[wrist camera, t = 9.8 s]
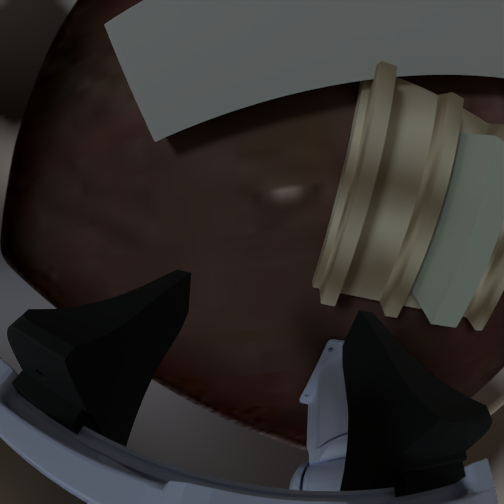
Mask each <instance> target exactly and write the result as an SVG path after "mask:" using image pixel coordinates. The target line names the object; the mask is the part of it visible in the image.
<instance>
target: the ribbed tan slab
mask: <svg viewBox="0 0 504 504" xmlns="http://www.w3.org/2000/svg"><path fill="white" fill-rule="evenodd" d="M396 72H397V66H394V65H392V64H389V63H386V62H384V61H381V62H380V63H378V64H377V65H376V70H375V75H374V79H371V80H363V81H360V86H359V92H358V98H357V104H356V109H355V114H354V120H353V125H352V130H351V134H350V139H349V144H348V149H347V153H346V158H345V162H344V166H343V171H342V175H341V179H340V183H339V187H338V191H337V195H336V199H335V203H334V207H333V211H332V215H331V218H330V222H329V226H328V229H327V233H326V236H325V240H324V243H323V247H322V250H321V254H320V257H319V260H318V264H317V267H316V270H315V274H314V277H313V280H312V283H313V287H314V288H319V290H320V298H321V304H326V305H331V306H335V305H336V302H337V300H338V297H339V294H340V293H343V294H348V295H352V296H357V297H362V298H367V299H372V300H377V301H380V304H381V306H382V309H383V311H384V313H385V316H389V317H395V318H397V317H398V315H399V313H400V311H401V309H402V307H403V306H408V307H413V308H419V309H422V308H421V306H420V304H419V303H418V301H417V299H416V298H415V296H414V295H413V293H412V291H411V287H412V285H413V283H414V281H415V278H416V276H417V274H418V271H419V269H420V267H421V264H422V262H423V259H424V257H425V254H426V251H427V249H428V246H429V244H430V241H431V238H432V235H433V232H434V229H435V227H436V224H437V221H438V217H439V214H440V211H441V208H442V205H443V201H444V198H445V194H446V191H447V187H448V183H449V179H450V175H451V171H452V167H453V162H454V158H455V153H456V148H457V143H458V137H459V133H468V134H482V135H492V136H497V137H498V138H500V139H501V140H502V141H504V124H488V123H486V122H485V121H483V120H482V119H480V118H478V117H477V116H475V115H473V114H472V113H470V112H468V111H467V110H465V109H463V101H464V98H462V97H460V96H458V95H456V94H455V93H453V92H450V93H446V94H441V95H437V94H435V93H433V92H431V91H428V90H426V89H424V88H422V87H420V86H417V85H415V84H413V83H410V82H408V81H406V80H403V79H401V78H398V77H396ZM503 290H504V221H503V224H502V227H501V230H500V233H499V236H498V239H497V242H496V244H495V247H494V250H493V252H492V255H491V257H490V260H489V262H488V265H487V267H486V269H485V272H484V274H483V276H482V278H481V281H480V283H479V285H478V287H477V289H476V291H475V293H474V295H473V297H472V299H471V301H470V303H469V305H468V307H467V309H466V311H465V313H464V314H463V317H466V318H467V319H468V320H469V322H470V323H471V325H472V326H473V327H474V329H475V330H480V331H482V329H483V328H484V326H485V324H486V322H487V321H488V319H489V317H490V315H491V314H492V312H493V310H494V308H495V306H496V304H497V302H498V300H499V298H500V296H501V294H502V292H503Z"/></svg>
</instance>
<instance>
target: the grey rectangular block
mask: <svg viewBox="0 0 504 504" xmlns="http://www.w3.org/2000/svg"><path fill="white" fill-rule="evenodd" d="M104 25H105V28H106V30H107V33H108V35H109V38H110V40H111V43H112V45H113V48H114V50H115V53H116V55H117V57H118V60H119V62H120V65H121V67H122V69H123V72H124V74H125V77H126V79H127V81H128V84H129V86H130V88H131V90H132V93H133V95H134V97H135V100H136V102H137V104H138V106H139V108H140V111H141V113H142V115H143V117H144V120H145V122H146V124H147V126H148V128H149V131H150V133H151V135H152V137H153V139H154V141H155V142H156V141H158V140H160V139H163V138H165V137H167V136H169V135H172V134H174V133H176V132H179V131H181V130H184V129H186V128H189V127H191V126H194V125H196V124H199V123H201V122H204V121H207V120H209V119H212V118H215V117H218V116H220V115H223V114H226V113H229V112H232V111H235V110H238V109H241V108H244V107H248V106H251V105H254V104H257V103H261V102H264V101H268V100H271V99H275V98H279V97H283V96H287V95H291V94H295V93H299V92H303V91H308V90H312V89H317V88H322V87H327V86H332V85H338V84H343V83H350V82H356V81H363V80H371V79H374V75H375V70H376V65H377V64H378V63H380V62H381V61H384V62H386V63H389V64H392V65H394V66H397V72H396V77H400V76H415V75H474V76H488V77H498V78H504V0H143V1H141V2H140V3H138V4H136V5H134V6H133V7H131V8H129V9H128V10H126V11H124V12H123V13H121V14H120V15H118V16H116V17H115V18H113V19H112V20H110V21H109V22H107V23H106V24H104Z"/></svg>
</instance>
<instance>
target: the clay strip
mask: <svg viewBox="0 0 504 504" xmlns="http://www.w3.org/2000/svg"><path fill="white" fill-rule="evenodd" d="M503 221H504V141H502V140H501V139H500V138H498V137H497V136H492V135H482V134H468V133H459V137H458V143H457V148H456V153H455V158H454V162H453V167H452V171H451V175H450V179H449V183H448V187H447V191H446V194H445V198H444V201H443V205H442V208H441V211H440V214H439V217H438V221H437V224H436V227H435V229H434V232H433V235H432V238H431V241H430V244H429V246H428V249H427V251H426V254H425V257H424V259H423V262H422V264H421V267H420V269H419V271H418V274H417V276H416V278H415V281H414V283H413V285H412V287H411V291H412V293H413V295H414V296H415V298H416V299H417V301H418V303H419V304H420V306H421V308H422V309H423V311H424V313H425V315H426V316H427V318H428V320H429V321H430V323H431V324H435V325H442V326H449V327H457V325H458V323H459V322H460V320H461V318H462V316H463V314H464V313H465V311H466V309H467V307H468V305H469V303H470V301H471V299H472V297H473V295H474V293H475V291H476V289H477V287H478V285H479V283H480V281H481V278H482V276H483V274H484V272H485V269H486V267H487V265H488V262H489V260H490V257H491V255H492V252H493V250H494V247H495V244H496V242H497V239H498V236H499V233H500V230H501V227H502V224H503Z"/></svg>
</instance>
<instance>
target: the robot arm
mask: <svg viewBox="0 0 504 504" xmlns="http://www.w3.org/2000/svg"><path fill="white" fill-rule="evenodd" d="M190 280H191V273H189V272H185V271H181V270H176V271H173V272H171V273H169V274H167V275H165V276H163V277H161V278H159V279H157V280H154V281H152V282H150V283H148V284H146V285H144V286H142V287H139V288H137V289H134V290H132V291H130V292H127V293H125V294H122V295H119V296H117V297H114V298H110V299H107V300H104V301H100V302H96V303H91V304H86V305H82V306H76V307H69V308H60V309H29V310H27V311H26V312H25V313H24V314H23V315H22V316H21V317H20V318H18V319H17V320H16V321H15V322H14V323H13V324H12V325H11V326H9V327H8V331H7V336H8V341H9V343H10V346H11V348H12V350H13V352H14V354H15V356H16V358H17V360H18V362H19V364H20V366H21V368H22V370H23V371H22V372H21V373H20V374H19V375H18V374H17V373H16V372H15V370H14V369H13V368H12V367H10V366H9V365H8V364H7V363H6V362H5V361H3V360H2V359H1V358H0V437H1V438H2V439H3V440H4V441H5V442H6V443H7V444H8V445H9V446H10V447H11V448H12V449H14V450H15V451H16V452H17V453H18V454H19V455H20V456H22V457H23V458H24V459H25V460H26V461H28V462H29V463H30V464H31V465H32V466H34V467H35V468H36V469H38V470H39V471H40V472H41V473H43V474H44V475H46V476H47V477H48V478H49V479H51V480H52V481H54V482H55V483H57V484H58V485H60V486H61V487H63V488H64V489H66V490H67V491H69V492H70V493H72V494H74V495H75V496H77V497H78V498H80V499H82V500H83V501H85V502H87V504H497V503H498V501H497V496H496V491H495V486H494V482H493V478H492V474H491V470H490V467H489V463H488V460H487V459H483V460H480V461H477V462H474V463H471V464H469V465H467V466H465V467H464V466H463V462H462V461H464V460H466V458H467V456H466V452H465V451H466V450H467V449H469V448H470V447H471V446H472V445H473V444H475V443H476V442H477V441H478V440H479V439H480V438H481V437H482V436H483V435H484V434H485V433H486V432H487V431H488V429H489V428H490V426H491V424H492V418H491V416H490V413H489V411H488V409H487V407H486V405H484V404H482V403H479V402H477V401H475V400H473V399H471V398H469V397H467V396H465V395H463V394H461V393H460V392H458V391H456V390H454V389H453V388H451V387H450V386H448V385H447V384H445V383H444V382H443V381H441V380H440V379H438V378H437V377H436V376H434V375H433V374H432V373H431V372H429V371H428V370H427V369H426V368H425V367H424V366H422V365H421V364H420V363H419V362H418V361H417V360H416V359H415V358H414V357H413V356H412V355H411V354H410V353H409V352H408V351H407V350H406V349H405V348H404V347H403V346H402V345H401V344H400V343H399V341H398V340H397V339H396V338H395V337H394V336H393V335H392V334H391V333H390V331H389V330H388V329H387V328H386V327H385V326H384V325H383V323H382V322H381V321H380V320H379V319H378V318H377V317H376V316H375V315H374V314H373V313H372V312H366V311H361V310H359V311H358V314H357V316H356V318H355V320H354V322H353V325H352V327H351V329H350V331H349V333H348V335H347V337H346V339H345V341H343V340H337V339H331V340H329V341H328V342H327V344H326V346H325V348H324V350H323V352H322V355H321V357H320V359H319V361H318V363H317V365H316V367H315V369H314V371H313V373H312V375H311V377H310V379H309V381H308V383H307V385H306V387H305V389H304V391H303V393H302V395H301V397H300V402H301V403H305V404H308V427H307V450H308V453H309V462H305V463H303V464H301V465H300V466H299V467H298V469H297V470H296V472H295V473H294V475H293V477H292V479H291V483H290V488H289V489H280V488H271V487H263V486H257V485H250V484H245V483H239V482H233V481H229V480H225V479H220V478H216V477H212V476H208V475H204V474H200V473H197V472H193V471H190V470H186V469H183V468H180V467H177V466H174V465H171V464H167V463H165V462H162V461H159V460H157V459H154V458H151V457H149V456H146V455H144V454H141V453H139V452H136V451H134V450H132V449H129V448H127V447H126V445H127V441H128V438H129V435H130V432H131V429H132V426H133V423H134V421H135V418H136V415H137V413H138V410H139V407H140V405H141V402H142V400H143V397H144V395H145V392H146V390H147V388H148V386H149V384H150V381H151V379H152V377H153V375H154V373H155V371H156V369H157V367H158V366H159V364H160V363H161V361H162V359H163V358H164V356H165V354H166V353H167V351H168V350H169V348H170V346H171V345H172V343H173V342H174V340H175V338H176V337H177V335H178V333H179V332H180V330H181V328H182V326H183V323H184V321H185V319H186V316H187V314H188V311H189V294H190ZM329 348H332V349H329Z"/></svg>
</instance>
